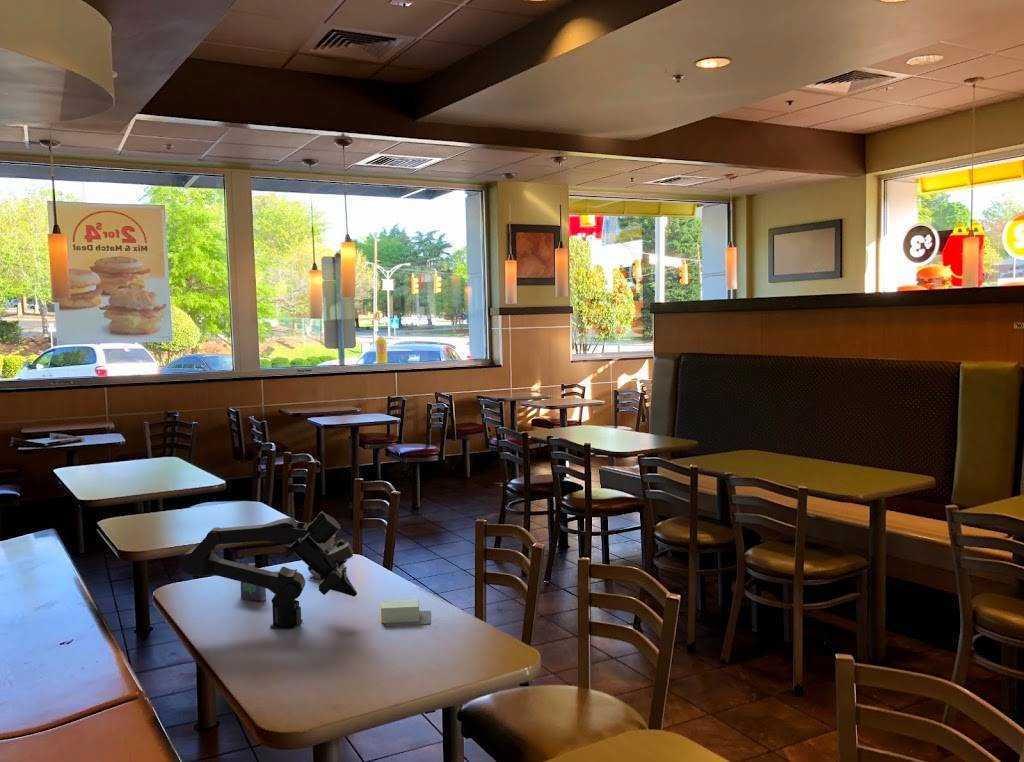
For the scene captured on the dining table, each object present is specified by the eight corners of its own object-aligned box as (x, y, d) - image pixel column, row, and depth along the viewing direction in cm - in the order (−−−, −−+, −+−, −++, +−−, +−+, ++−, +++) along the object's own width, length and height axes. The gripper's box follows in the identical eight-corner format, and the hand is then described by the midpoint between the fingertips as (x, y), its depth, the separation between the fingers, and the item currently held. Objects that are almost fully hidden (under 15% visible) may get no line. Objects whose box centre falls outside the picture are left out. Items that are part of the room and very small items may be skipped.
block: (381, 608, 228) (418, 606, 229) (382, 601, 234) (419, 599, 235) (381, 623, 228) (419, 621, 229) (382, 615, 234) (419, 613, 235)
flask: (268, 600, 250) (266, 563, 249) (260, 603, 247) (259, 566, 246) (245, 595, 254) (243, 560, 254) (237, 598, 252) (236, 562, 251)
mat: (384, 626, 227) (384, 625, 226) (386, 613, 236) (386, 612, 236) (430, 624, 228) (430, 623, 228) (430, 611, 238) (430, 610, 238)
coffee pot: (302, 574, 275) (301, 528, 274) (336, 568, 281) (335, 523, 280) (327, 591, 257) (326, 542, 256) (363, 584, 263) (362, 536, 262)
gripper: (331, 543, 219) (375, 584, 221) (338, 525, 238) (379, 563, 240) (300, 574, 219) (344, 615, 221) (310, 554, 237) (350, 592, 239)
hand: (355, 595), depth 230 cm, fingers closed
